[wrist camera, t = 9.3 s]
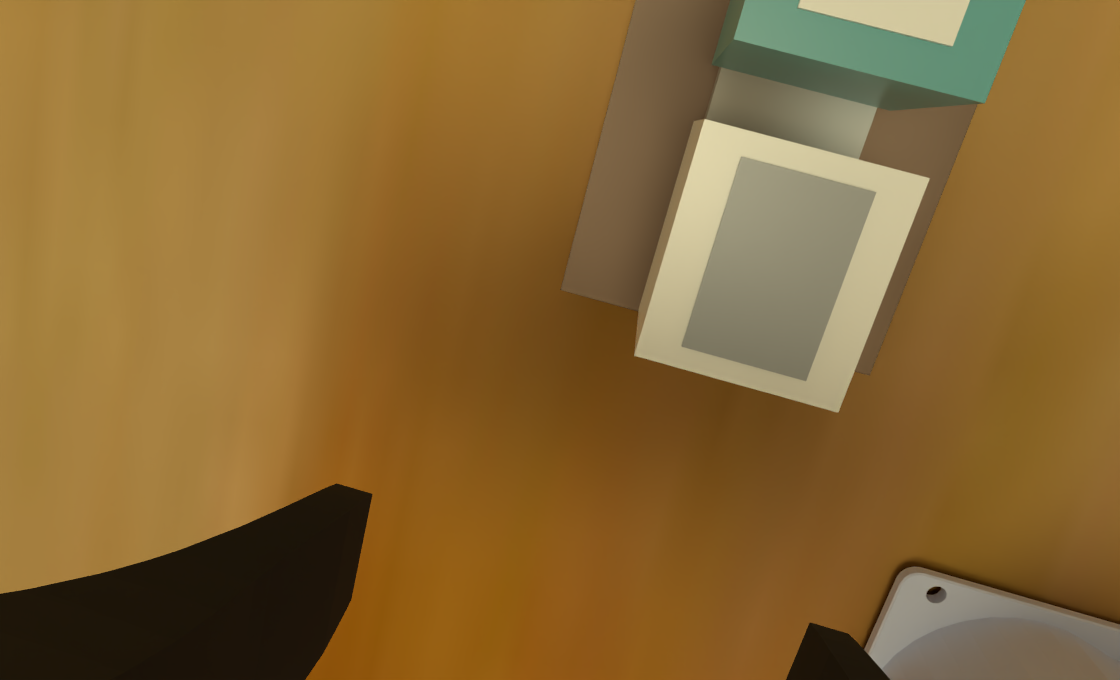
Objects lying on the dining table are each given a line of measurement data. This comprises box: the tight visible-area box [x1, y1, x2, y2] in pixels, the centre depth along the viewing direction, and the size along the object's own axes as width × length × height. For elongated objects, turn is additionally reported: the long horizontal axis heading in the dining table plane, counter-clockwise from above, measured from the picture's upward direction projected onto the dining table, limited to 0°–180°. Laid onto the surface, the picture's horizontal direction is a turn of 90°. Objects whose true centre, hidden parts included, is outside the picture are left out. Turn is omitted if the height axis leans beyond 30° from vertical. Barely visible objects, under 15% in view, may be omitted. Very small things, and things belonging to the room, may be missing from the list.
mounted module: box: [634, 119, 930, 413], centre depth 16 cm, size 4×4×4 cm
